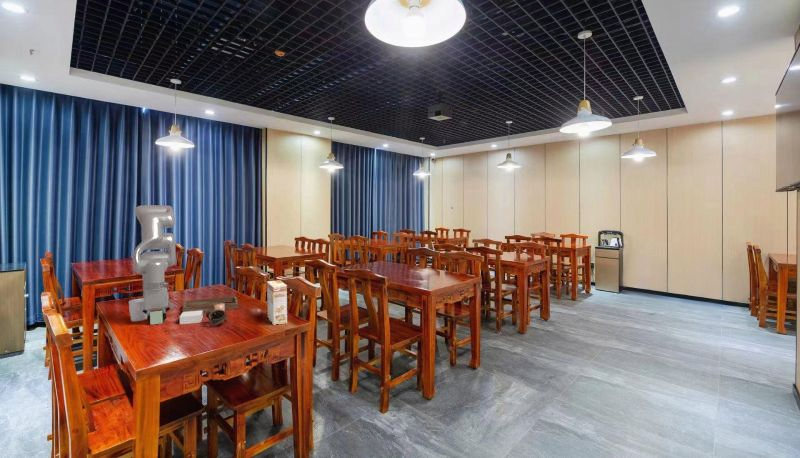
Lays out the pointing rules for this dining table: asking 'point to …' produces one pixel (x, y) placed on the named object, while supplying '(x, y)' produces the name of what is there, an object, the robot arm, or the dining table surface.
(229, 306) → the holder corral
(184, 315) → the base slab
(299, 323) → the dining table surface
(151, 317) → the green block
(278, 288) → the coffeecake box
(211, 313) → the pottery mug
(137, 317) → the white cup
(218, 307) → the glossy beige egg
